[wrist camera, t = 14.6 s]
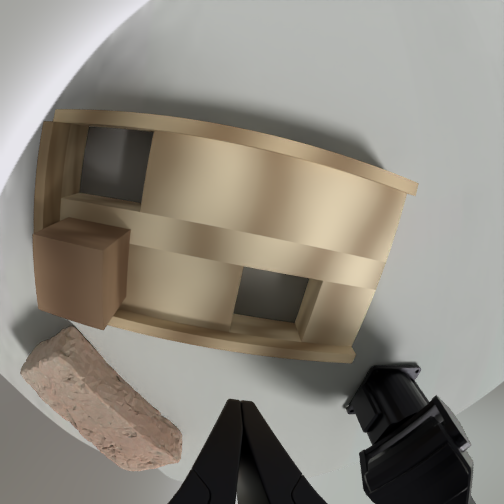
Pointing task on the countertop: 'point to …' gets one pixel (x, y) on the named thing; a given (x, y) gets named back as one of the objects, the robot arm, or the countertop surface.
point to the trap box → (232, 230)
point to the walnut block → (81, 270)
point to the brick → (100, 403)
